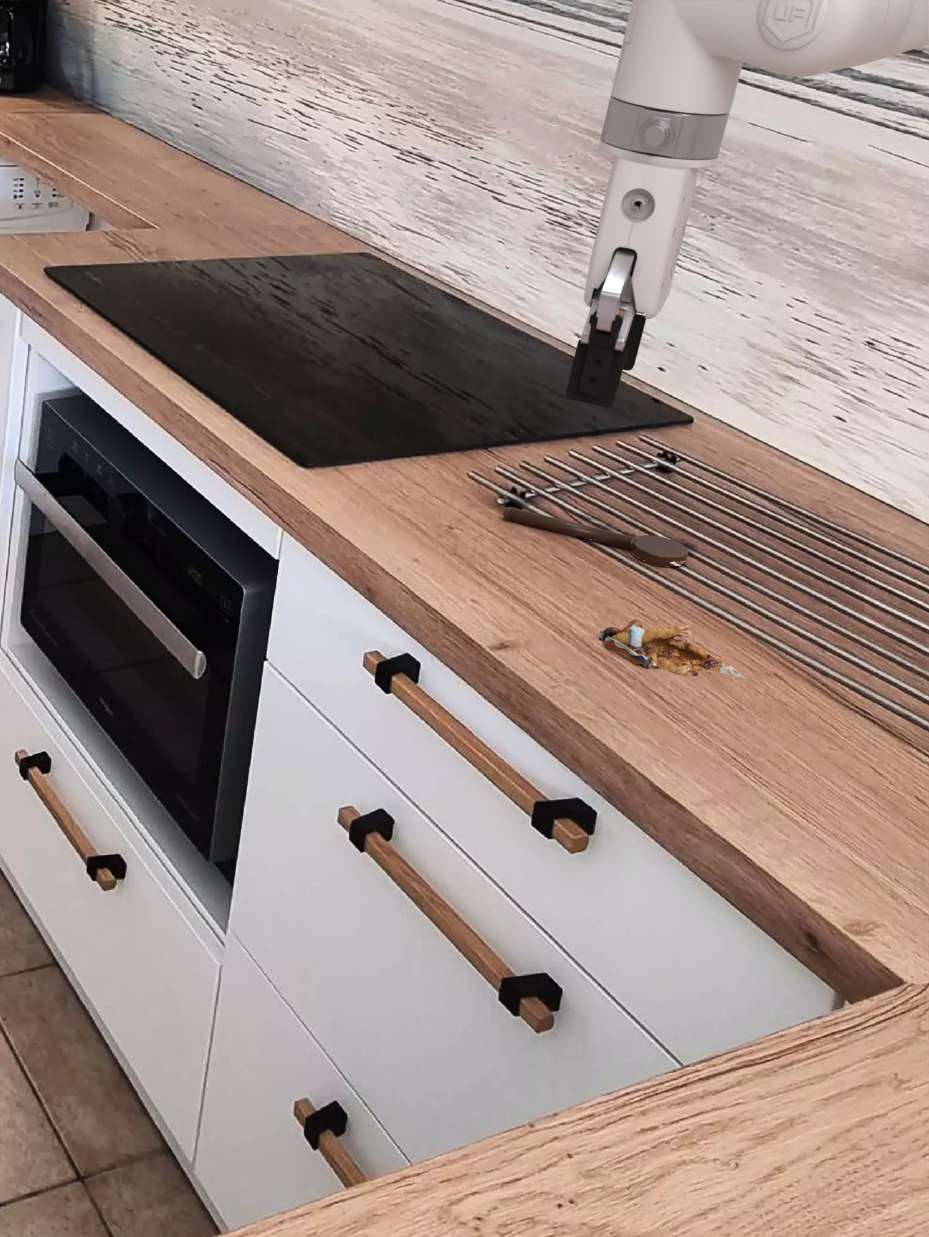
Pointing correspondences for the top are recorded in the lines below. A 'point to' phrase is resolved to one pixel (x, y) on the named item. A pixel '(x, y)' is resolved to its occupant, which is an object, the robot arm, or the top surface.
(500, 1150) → the top surface
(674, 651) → the pastry
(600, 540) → the walnut spoon
